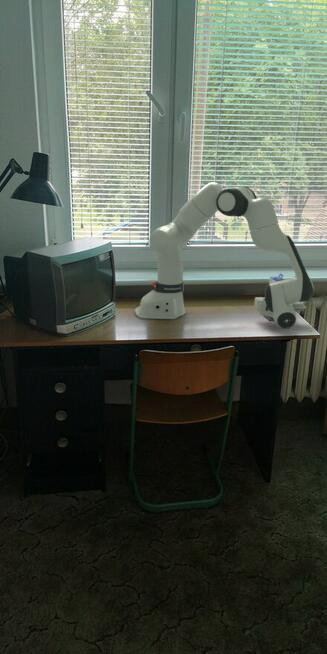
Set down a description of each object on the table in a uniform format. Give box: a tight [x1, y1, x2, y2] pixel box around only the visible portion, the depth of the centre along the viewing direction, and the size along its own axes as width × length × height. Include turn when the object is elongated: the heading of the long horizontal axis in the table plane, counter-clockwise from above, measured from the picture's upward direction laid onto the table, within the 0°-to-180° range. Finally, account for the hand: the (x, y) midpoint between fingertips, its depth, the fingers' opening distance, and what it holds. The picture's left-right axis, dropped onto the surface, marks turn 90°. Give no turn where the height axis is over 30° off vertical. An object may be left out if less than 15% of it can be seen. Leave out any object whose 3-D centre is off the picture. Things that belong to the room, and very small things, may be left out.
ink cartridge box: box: [268, 273, 285, 284], centre depth 231 cm, size 10×6×14 cm, turn 10°
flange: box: [262, 315, 275, 322], centre depth 214 cm, size 9×9×1 cm
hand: (276, 298), depth 212 cm, fingers closed on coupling, 5 cm apart
